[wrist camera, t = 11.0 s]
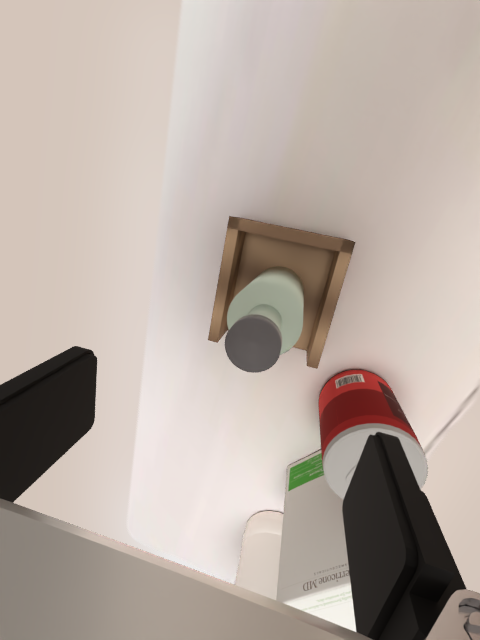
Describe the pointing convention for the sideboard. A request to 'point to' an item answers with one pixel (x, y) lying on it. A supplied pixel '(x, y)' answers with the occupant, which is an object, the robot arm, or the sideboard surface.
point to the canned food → (361, 426)
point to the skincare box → (314, 546)
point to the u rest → (291, 252)
